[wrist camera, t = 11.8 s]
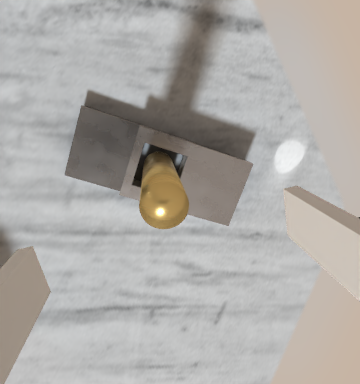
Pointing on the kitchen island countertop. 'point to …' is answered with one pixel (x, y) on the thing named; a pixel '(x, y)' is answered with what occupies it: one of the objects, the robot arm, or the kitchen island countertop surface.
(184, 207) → the pin
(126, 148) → the slotted metal plate
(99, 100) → the kitchen island countertop surface
